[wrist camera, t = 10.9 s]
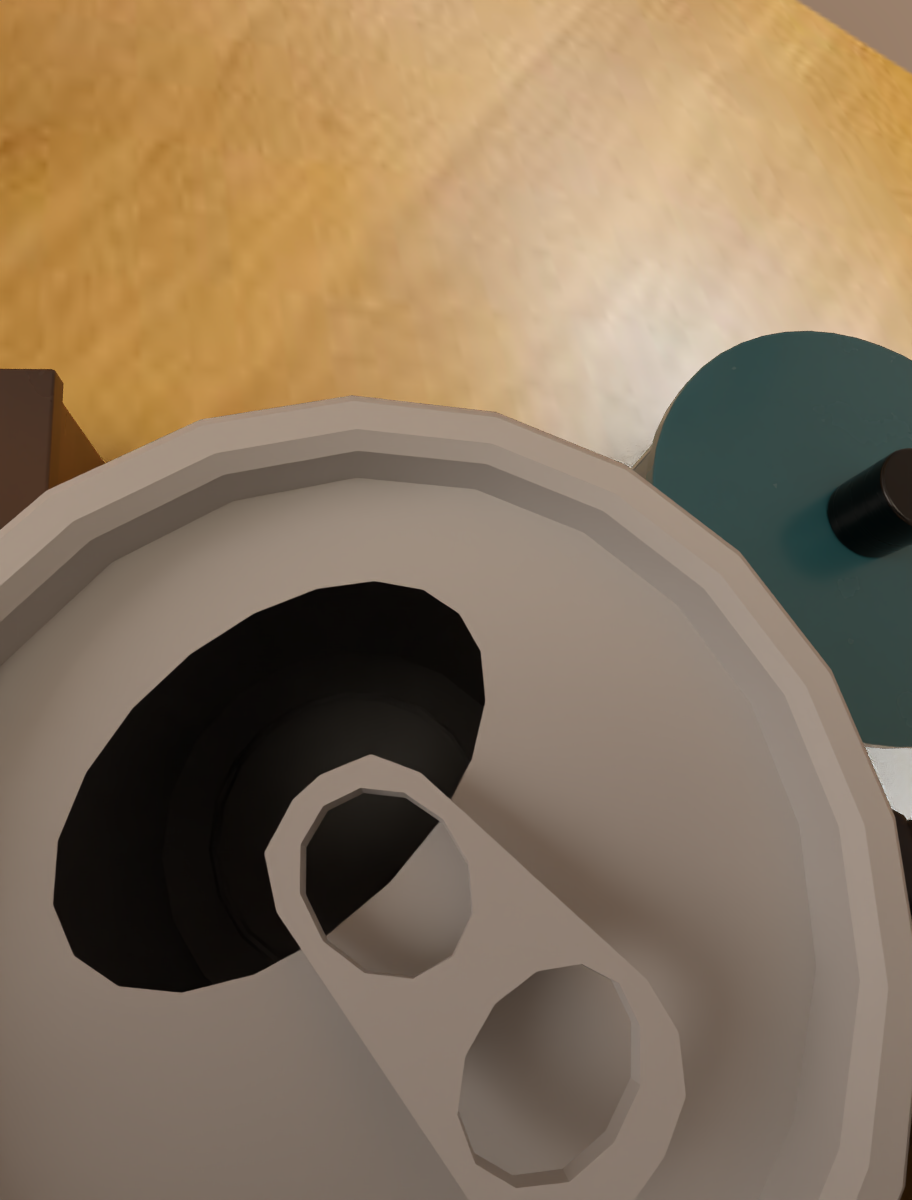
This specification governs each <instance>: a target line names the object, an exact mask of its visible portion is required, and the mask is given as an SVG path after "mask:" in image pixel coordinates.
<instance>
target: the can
mask: <svg viewBox="0 0 912 1200" xmlns="http://www.w3.org/2000/svg"><path fill="white" fill-rule="evenodd" d="M911 1117H912V919H911V913H910V907H909V900H908V894H907V888H906V882H905V875H904V869H903V863H902V857H901V851H900V844H899V838H898V832H897V826H896V819H895V816H894V814H893V811H892V809H891V807H890V804H889V802H888V800H887V797H886V795H885V793H884V791H883V788H882V786H881V784H880V781H879V779H878V777H877V774H876V772H875V770H874V767H873V765H872V763H871V760H870V758H869V756H868V753H867V751H866V749H865V747H864V744H863V742H862V740H861V737H860V735H859V733H858V730H857V728H856V726H855V723H854V721H853V719H852V716H851V714H850V712H849V709H848V707H847V705H846V703H845V700H844V698H843V696H842V693H841V691H840V689H839V686H838V684H837V682H836V679H835V677H834V675H833V672H832V670H831V669H830V667H829V666H828V665H827V664H826V662H825V661H824V660H823V658H822V657H821V656H820V655H819V653H818V652H817V651H816V649H815V648H814V647H813V646H812V644H811V643H810V642H809V640H808V639H807V638H806V636H805V635H804V634H803V633H802V631H801V630H800V629H799V627H798V626H797V625H796V624H795V622H794V621H793V620H792V618H791V617H790V616H789V615H788V613H787V612H786V611H785V609H784V608H783V607H782V606H781V604H780V603H779V602H778V600H777V599H776V598H775V597H774V595H773V594H772V593H771V591H770V590H769V589H768V587H767V586H766V585H765V584H764V582H763V581H762V580H761V578H760V577H759V576H758V575H757V573H756V572H755V571H754V569H753V568H752V567H751V566H750V564H749V563H748V562H747V560H746V559H745V558H744V557H743V555H742V554H741V553H740V552H739V551H738V550H737V549H735V548H734V547H733V546H732V545H730V544H729V543H728V542H726V541H725V540H724V539H722V538H721V537H720V536H718V535H717V534H716V533H715V532H713V531H712V530H711V529H709V528H708V527H707V526H705V525H704V524H703V523H701V522H700V521H699V520H698V519H696V518H695V517H694V516H692V515H691V514H690V513H688V512H687V511H686V510H684V509H683V508H682V507H681V506H679V505H678V504H677V503H675V502H674V501H673V500H671V499H670V498H669V497H667V496H666V495H665V494H663V493H662V492H661V491H660V490H658V489H657V488H656V487H654V486H653V485H652V484H650V483H649V482H648V481H646V480H645V479H644V478H643V477H641V476H640V475H639V474H637V473H636V472H635V471H633V470H632V469H631V468H629V467H628V466H627V465H625V464H622V463H620V462H617V461H615V460H612V459H610V458H608V457H605V456H603V455H600V454H598V453H595V452H593V451H590V450H588V449H585V448H583V447H580V446H578V445H576V444H573V443H571V442H568V441H566V440H563V439H561V438H558V437H556V436H553V435H551V434H549V433H546V432H544V431H541V430H539V429H536V428H534V427H531V426H529V425H526V424H524V423H521V422H519V421H517V420H514V419H512V418H509V417H507V416H504V415H502V414H499V413H497V412H491V411H482V410H474V409H465V408H456V407H448V406H439V405H430V404H422V403H413V402H404V401H396V400H387V399H378V398H370V397H361V396H346V397H340V398H333V399H327V400H321V401H315V402H308V403H302V404H296V405H290V406H283V407H277V408H271V409H264V410H258V411H252V412H246V413H239V414H233V415H227V416H221V417H214V418H208V419H202V420H199V421H196V422H194V423H192V424H190V425H188V426H186V427H183V428H181V429H179V430H177V431H175V432H173V433H170V434H168V435H166V436H164V437H162V438H160V439H157V440H155V441H153V442H151V443H149V444H147V445H144V446H142V447H140V448H138V449H136V450H133V451H131V452H129V453H127V454H125V455H123V456H120V457H118V458H116V459H114V460H112V461H110V462H107V463H105V464H103V465H101V466H99V467H97V468H94V469H92V470H90V471H88V472H86V473H84V474H81V475H79V476H77V477H75V478H73V479H71V480H68V481H66V482H64V483H62V484H60V485H57V486H55V487H53V488H51V489H49V490H47V491H45V492H44V493H43V494H42V495H41V496H40V497H38V498H37V499H36V500H35V501H34V502H33V503H31V504H30V505H29V506H28V507H27V508H25V509H24V510H23V511H22V512H21V513H20V514H18V515H17V516H16V517H15V518H14V519H13V520H11V521H10V522H9V523H8V524H7V525H6V526H4V527H3V528H2V529H1V530H0V1200H900V1199H901V1196H902V1193H903V1191H904V1188H905V1181H906V1170H907V1160H908V1149H909V1138H910V1128H911Z"/></svg>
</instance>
